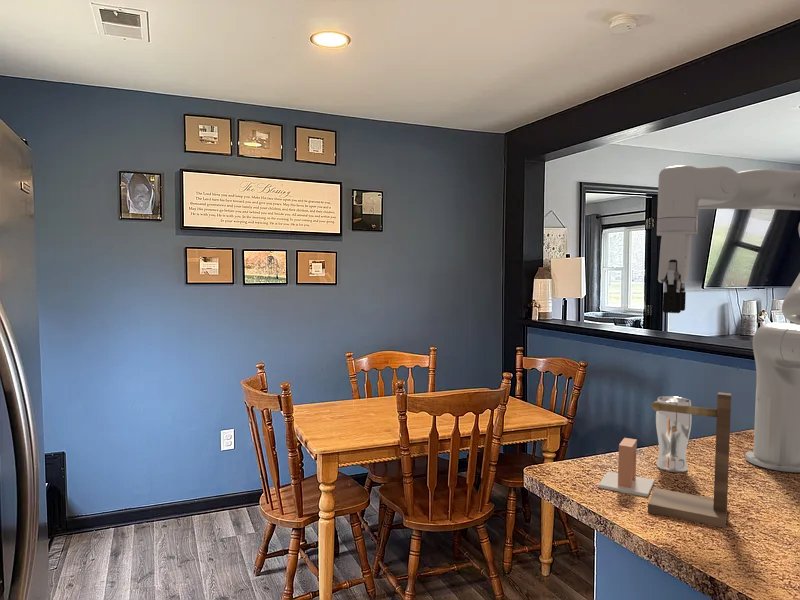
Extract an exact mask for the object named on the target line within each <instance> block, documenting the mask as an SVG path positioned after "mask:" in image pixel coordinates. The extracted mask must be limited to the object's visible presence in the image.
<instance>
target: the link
mask: <svg viewBox="0 0 800 600" xmlns="http://www.w3.org/2000/svg"><path fill="white" fill-rule="evenodd" d="M637 447H638V439H635V438H630V437H628V438H627V437H624V438H623V439H622V440H621V441H620V443H619V445H618V463H617V466H618V467H617V473H618V486H623V487H628V488H631V487H632V480H633V481H635V479H636V476H637V451H638V450H637V449H638V448H637Z"/></svg>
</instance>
